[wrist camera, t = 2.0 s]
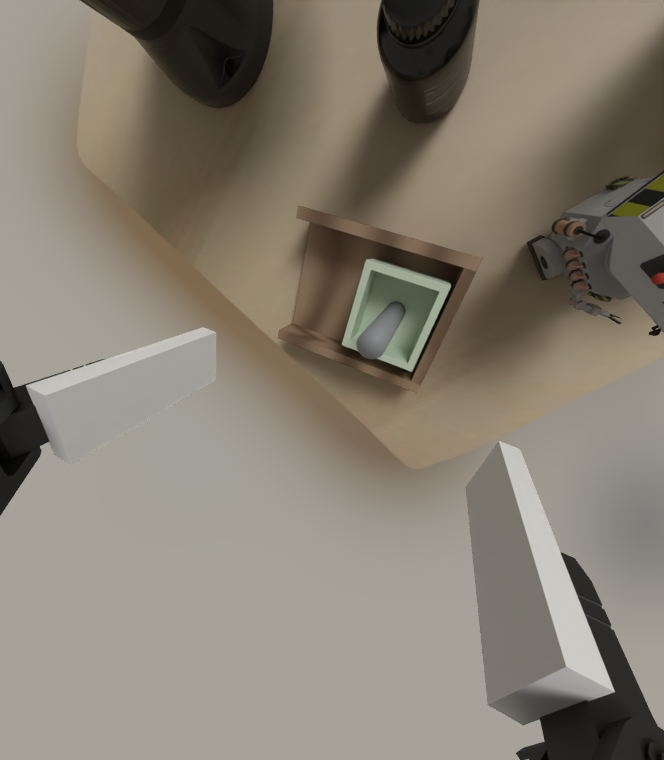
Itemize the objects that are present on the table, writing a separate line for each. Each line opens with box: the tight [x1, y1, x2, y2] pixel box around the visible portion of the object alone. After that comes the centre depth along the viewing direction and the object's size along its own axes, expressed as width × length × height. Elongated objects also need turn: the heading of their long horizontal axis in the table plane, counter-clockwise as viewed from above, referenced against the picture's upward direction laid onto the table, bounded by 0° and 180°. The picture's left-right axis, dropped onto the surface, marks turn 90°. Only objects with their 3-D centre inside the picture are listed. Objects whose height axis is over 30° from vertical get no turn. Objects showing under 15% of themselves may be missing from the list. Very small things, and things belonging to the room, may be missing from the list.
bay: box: [278, 206, 483, 393], centre depth 34 cm, size 20×16×5 cm
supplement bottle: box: [377, 0, 479, 123], centre depth 21 cm, size 7×7×12 cm
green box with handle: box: [342, 258, 451, 372], centre depth 28 cm, size 9×10×15 cm
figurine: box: [527, 169, 664, 336], centre depth 20 cm, size 9×12×15 cm
